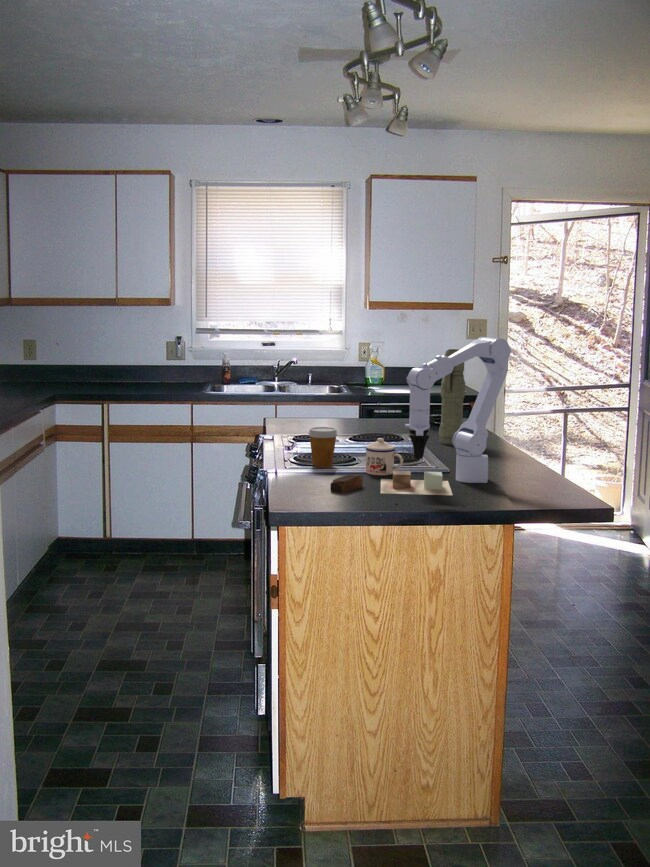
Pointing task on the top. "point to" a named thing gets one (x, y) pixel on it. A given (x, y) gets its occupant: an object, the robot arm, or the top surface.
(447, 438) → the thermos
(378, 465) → the teacup with lid
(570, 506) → the top surface
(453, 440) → the robot arm
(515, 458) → the top surface
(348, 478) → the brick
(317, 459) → the disposable coffee cup
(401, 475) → the walnut block
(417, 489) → the build board
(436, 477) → the sage block
